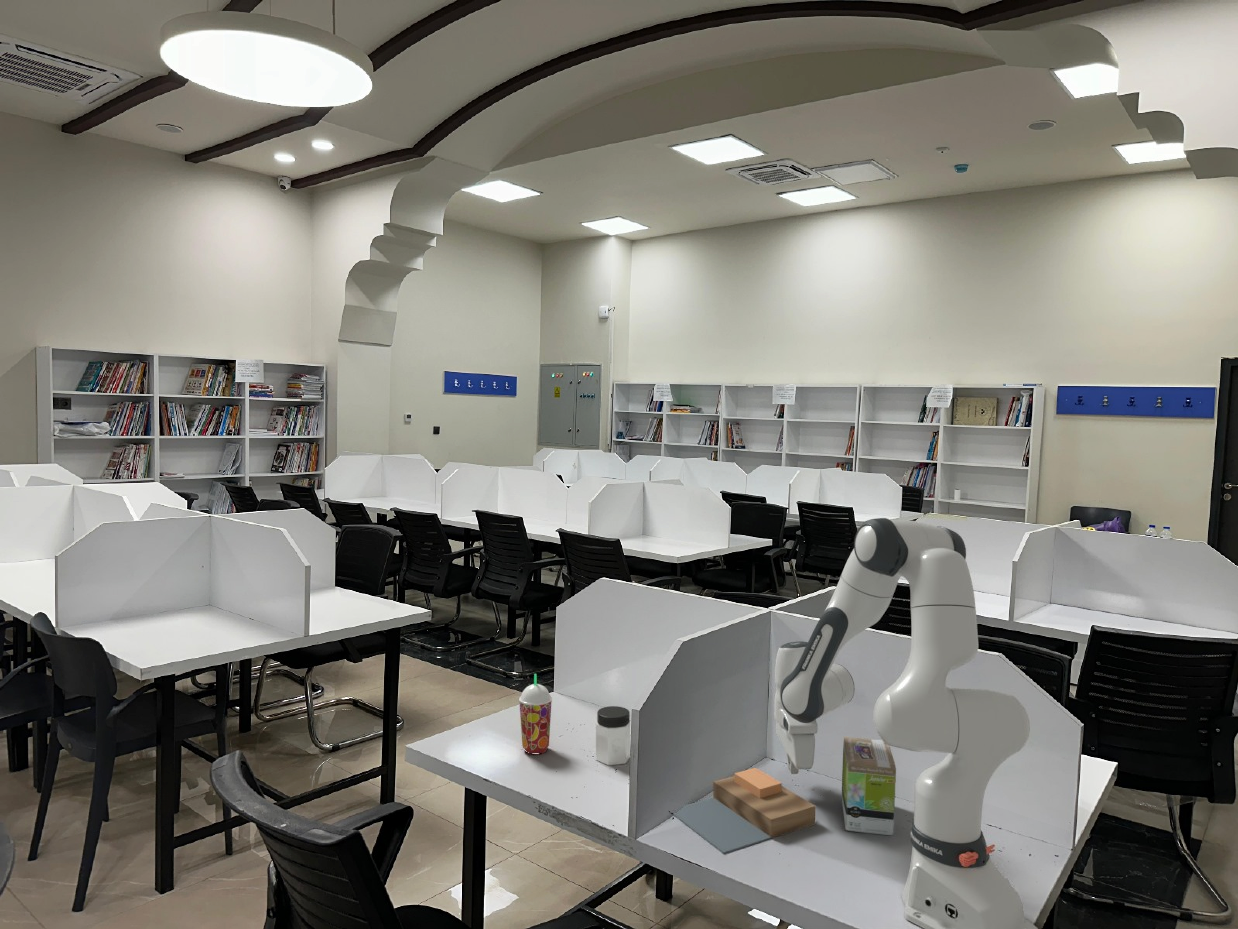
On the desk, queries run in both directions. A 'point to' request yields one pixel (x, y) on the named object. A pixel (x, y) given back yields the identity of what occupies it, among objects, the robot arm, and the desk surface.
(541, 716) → the smoothie
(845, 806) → the tea box
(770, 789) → the orange rectangular block
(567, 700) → the desk surface
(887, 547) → the robot arm
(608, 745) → the jar
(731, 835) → the mat
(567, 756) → the desk surface
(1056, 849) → the desk surface
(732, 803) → the board
